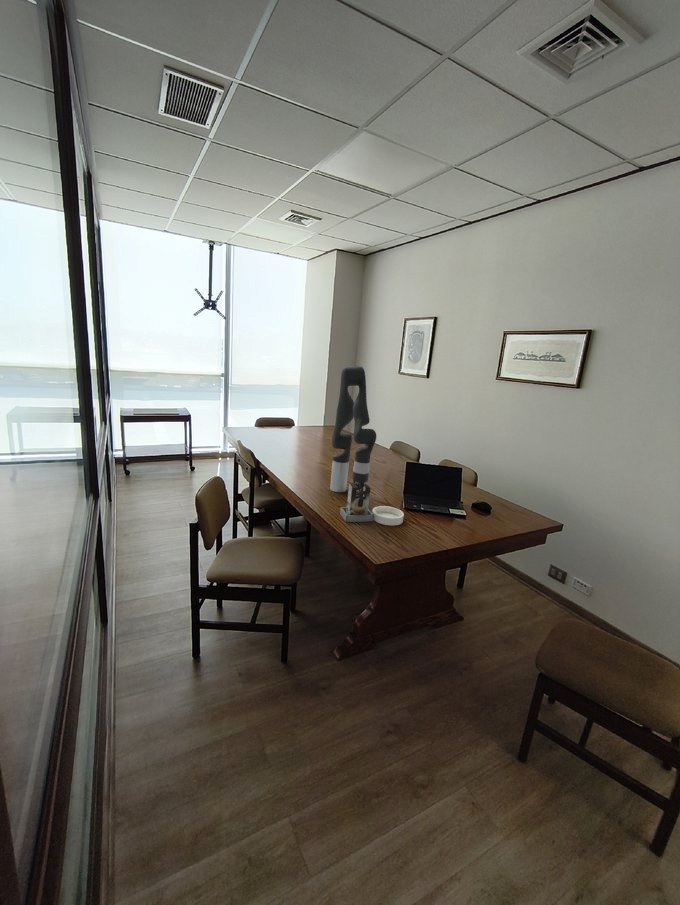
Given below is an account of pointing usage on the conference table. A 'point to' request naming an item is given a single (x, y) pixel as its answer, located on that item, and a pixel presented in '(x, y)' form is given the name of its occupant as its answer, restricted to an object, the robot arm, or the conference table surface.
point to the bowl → (387, 515)
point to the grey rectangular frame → (356, 516)
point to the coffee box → (353, 501)
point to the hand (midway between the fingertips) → (357, 503)
